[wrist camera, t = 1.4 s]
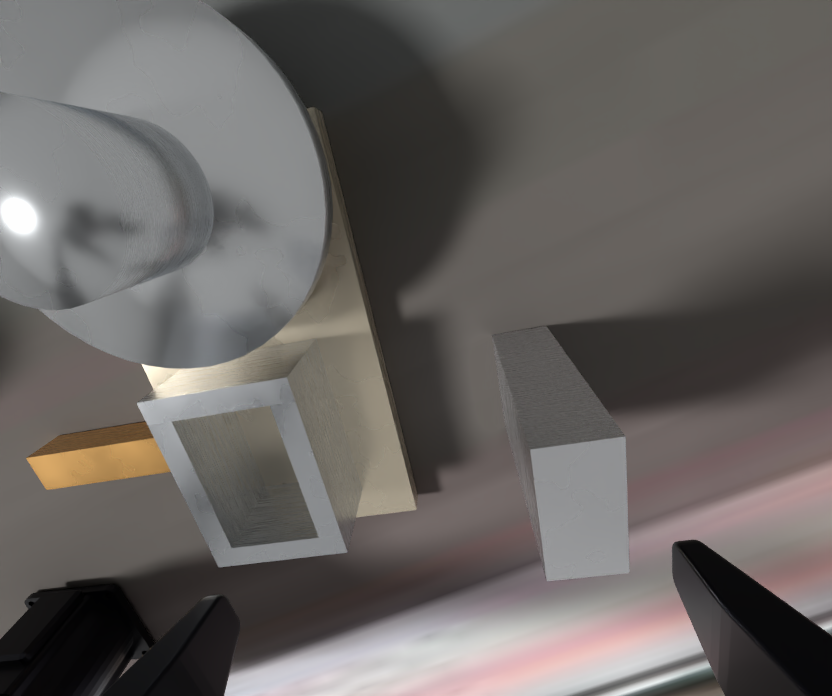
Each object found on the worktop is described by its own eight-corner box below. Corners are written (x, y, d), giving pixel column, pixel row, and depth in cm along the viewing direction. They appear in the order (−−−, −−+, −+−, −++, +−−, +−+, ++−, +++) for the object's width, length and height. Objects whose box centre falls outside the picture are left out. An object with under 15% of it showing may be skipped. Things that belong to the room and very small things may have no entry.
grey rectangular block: (555, 418, 21) (629, 572, 13) (505, 425, 22) (547, 581, 13) (546, 325, 20) (625, 436, 11) (491, 335, 20) (529, 449, 12)
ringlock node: (426, 492, 24) (420, 666, 15) (116, 533, 26) (-37, 703, 17) (303, -16, 15) (143, -244, 7) (-136, 108, 18) (-654, 47, 9)
